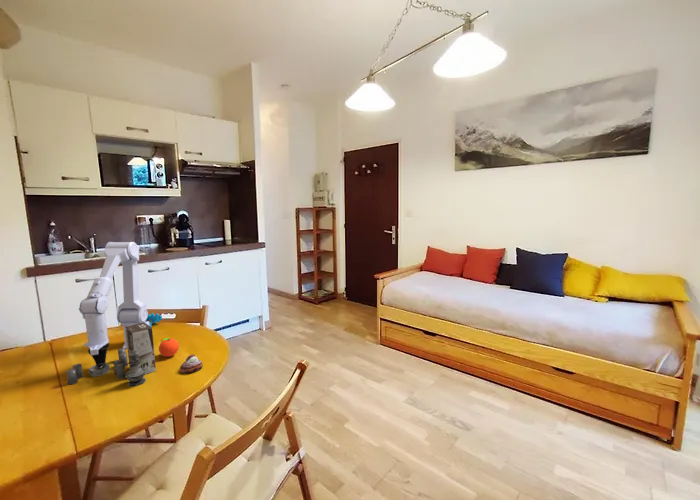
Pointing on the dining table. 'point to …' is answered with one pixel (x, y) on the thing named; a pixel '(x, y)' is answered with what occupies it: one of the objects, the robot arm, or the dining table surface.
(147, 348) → the coffee box
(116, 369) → the spacers
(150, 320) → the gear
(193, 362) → the pastry
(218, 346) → the dining table surface
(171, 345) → the clementine
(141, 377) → the grey tall stone piece
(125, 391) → the dining table surface
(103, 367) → the nut
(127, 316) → the robot arm
